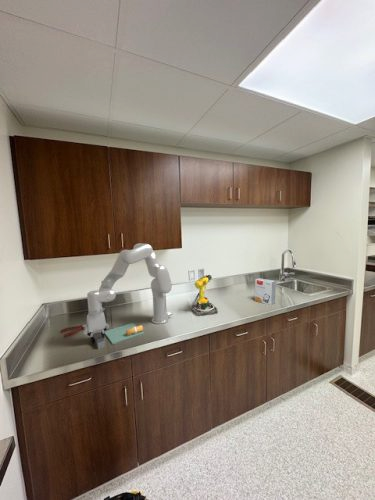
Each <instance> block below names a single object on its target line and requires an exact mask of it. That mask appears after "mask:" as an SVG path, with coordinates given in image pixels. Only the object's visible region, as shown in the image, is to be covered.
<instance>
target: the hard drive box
mask: <svg viewBox="0 0 375 500" xmlns="http://www.w3.org/2000/svg"><path fill="white" fill-rule="evenodd" d="M254 302H257V303H261V304H265V305H269V306H272V305H275V304H276V280H273V279H268V278H267V279H265V278H260V277H258V278H255V279H254Z"/></svg>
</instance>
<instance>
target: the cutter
mask: <svg viewBox="0 0 375 500" xmlns="http://www.w3.org/2000/svg"><path fill="white" fill-rule="evenodd" d="M93 337H94V343H93V344H94V346H95V347H96V348H97V349H98V350H100V349H102V348H106V344H105V343H106V341H105V338H104V339H103V336H102V335H101V331H96V332H93Z"/></svg>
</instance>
